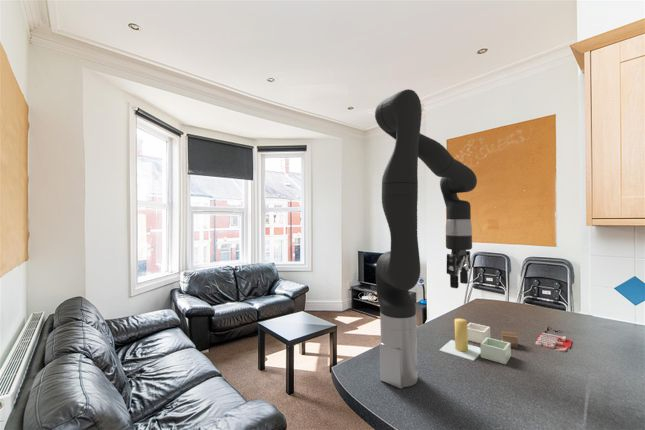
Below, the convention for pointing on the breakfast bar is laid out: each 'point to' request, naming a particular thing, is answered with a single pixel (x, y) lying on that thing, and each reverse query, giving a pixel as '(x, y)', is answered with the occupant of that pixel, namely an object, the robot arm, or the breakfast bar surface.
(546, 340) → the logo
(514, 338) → the walnut block
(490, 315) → the breakfast bar surface
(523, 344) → the breakfast bar surface
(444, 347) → the thin white panel
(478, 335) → the pot white
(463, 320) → the peg
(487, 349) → the pot green
